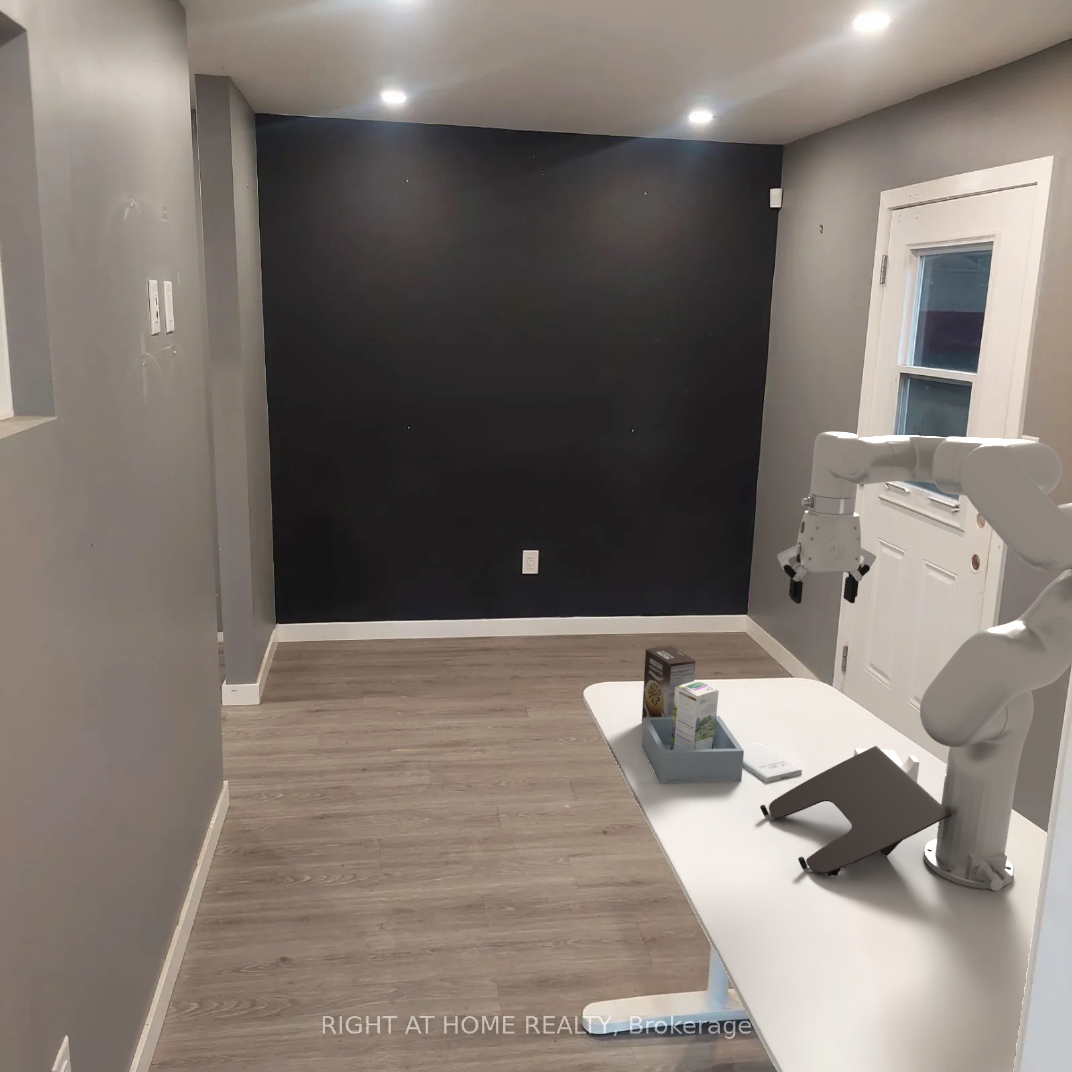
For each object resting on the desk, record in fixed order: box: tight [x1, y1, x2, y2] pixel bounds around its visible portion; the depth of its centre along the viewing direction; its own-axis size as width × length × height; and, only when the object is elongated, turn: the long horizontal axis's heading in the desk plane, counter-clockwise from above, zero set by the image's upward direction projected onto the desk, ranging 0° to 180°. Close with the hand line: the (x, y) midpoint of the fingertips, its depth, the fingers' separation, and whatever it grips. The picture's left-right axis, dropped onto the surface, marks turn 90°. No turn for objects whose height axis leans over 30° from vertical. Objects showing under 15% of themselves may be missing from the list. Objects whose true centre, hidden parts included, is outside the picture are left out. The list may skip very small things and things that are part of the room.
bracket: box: [853, 748, 920, 783], centre depth 170 cm, size 13×7×8 cm, turn 177°
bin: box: [641, 715, 744, 784], centre depth 176 cm, size 15×15×6 cm
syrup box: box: [670, 680, 719, 750], centre depth 174 cm, size 6×6×14 cm
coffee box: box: [641, 645, 697, 724], centre depth 189 cm, size 9×6×16 cm
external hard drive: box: [740, 741, 803, 783], centre depth 177 cm, size 2×8×12 cm
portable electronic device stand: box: [759, 745, 952, 877], centre depth 151 cm, size 23×23×9 cm
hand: (822, 601), depth 165 cm, fingers open, 9 cm apart
